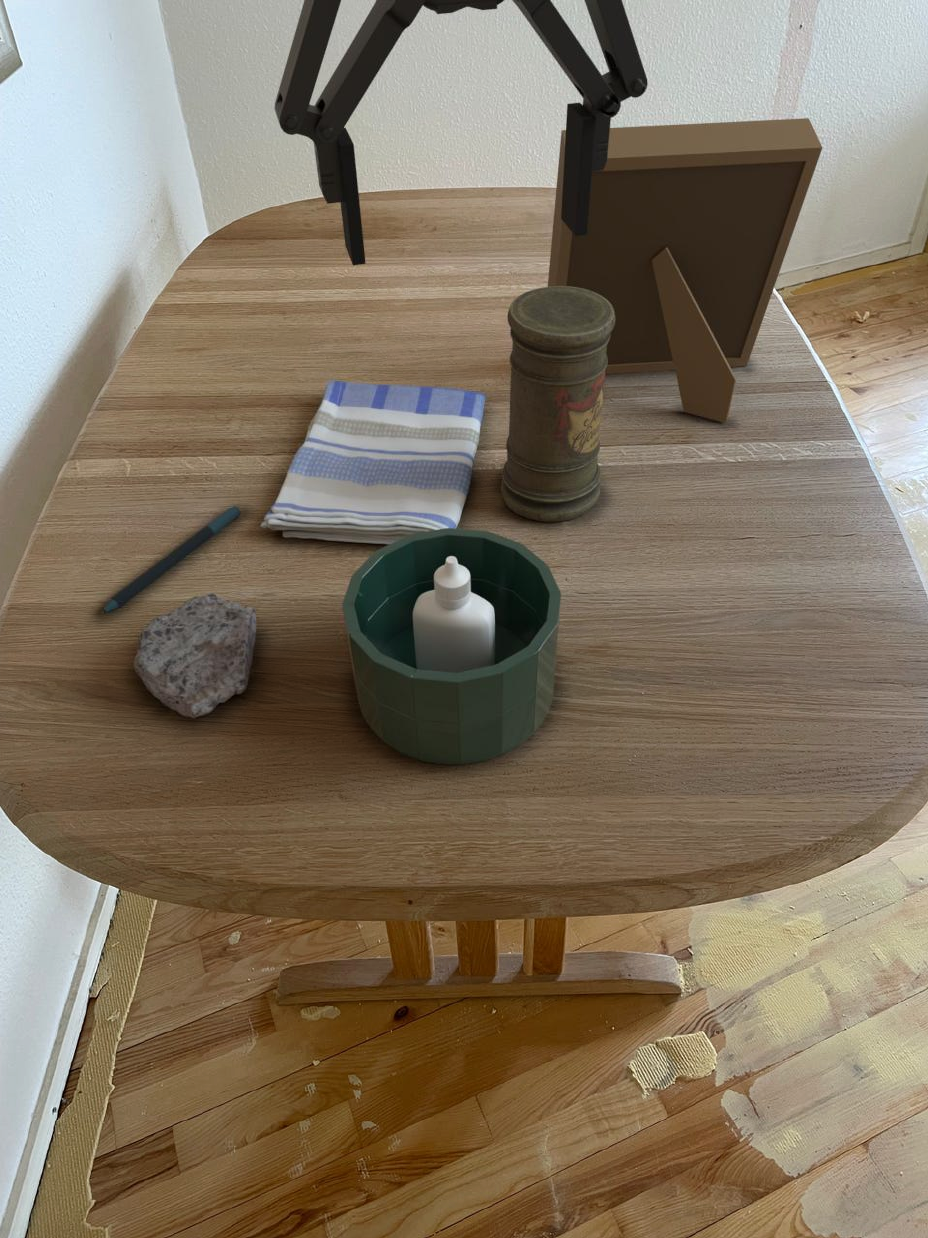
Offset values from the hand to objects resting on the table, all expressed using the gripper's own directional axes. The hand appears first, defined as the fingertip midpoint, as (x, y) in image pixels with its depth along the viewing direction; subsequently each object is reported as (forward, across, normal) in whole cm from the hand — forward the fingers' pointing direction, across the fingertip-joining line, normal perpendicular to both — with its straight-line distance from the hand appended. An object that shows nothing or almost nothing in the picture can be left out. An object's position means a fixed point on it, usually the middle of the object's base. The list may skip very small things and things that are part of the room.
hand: (466, 241), depth 55 cm
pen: (+29, +24, -10) cm, 39 cm away
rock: (+29, +22, +3) cm, 36 cm away
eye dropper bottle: (+28, +4, +10) cm, 30 cm away
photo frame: (+29, -26, -24) cm, 46 cm away
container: (+29, -10, -10) cm, 32 cm away
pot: (+29, +4, +10) cm, 31 cm away
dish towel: (+29, +4, -18) cm, 34 cm away
